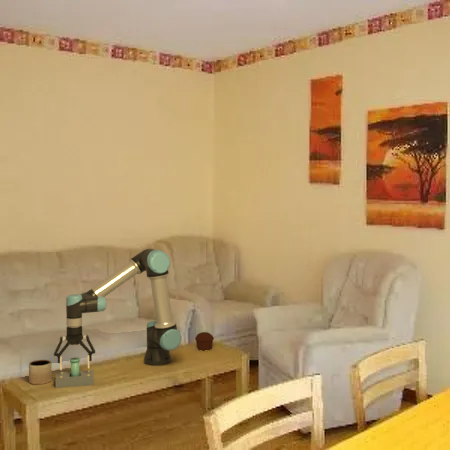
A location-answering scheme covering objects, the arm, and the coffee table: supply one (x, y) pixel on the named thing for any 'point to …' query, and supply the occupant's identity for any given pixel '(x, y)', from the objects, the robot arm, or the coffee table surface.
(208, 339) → the muffin
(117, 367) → the coffee table surface
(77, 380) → the grey socket block
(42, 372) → the planter
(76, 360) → the plug
